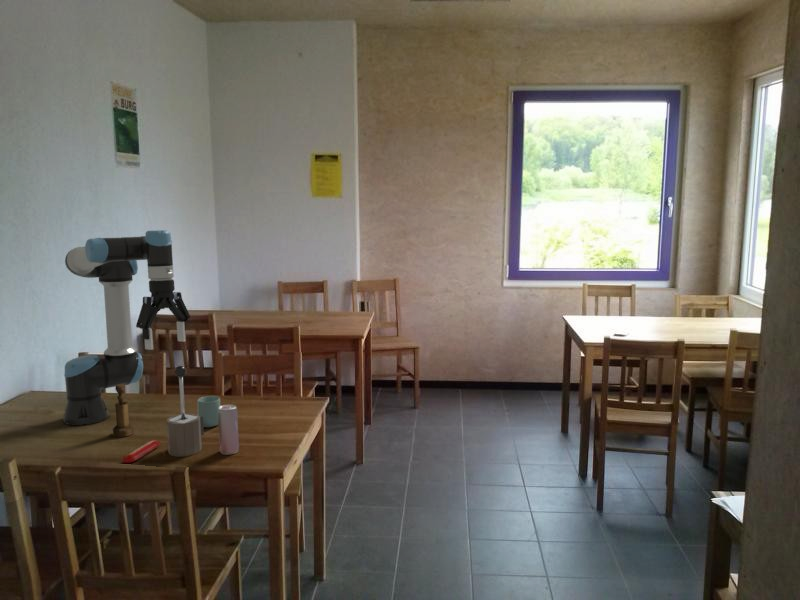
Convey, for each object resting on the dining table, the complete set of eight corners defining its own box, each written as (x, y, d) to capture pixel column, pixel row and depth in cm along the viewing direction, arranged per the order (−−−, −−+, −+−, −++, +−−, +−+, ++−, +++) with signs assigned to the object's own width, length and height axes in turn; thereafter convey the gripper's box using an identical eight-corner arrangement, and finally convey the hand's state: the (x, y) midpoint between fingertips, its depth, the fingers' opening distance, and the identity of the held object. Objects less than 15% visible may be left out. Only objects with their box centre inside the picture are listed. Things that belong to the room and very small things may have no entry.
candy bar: (151, 446, 211) (150, 437, 211) (161, 447, 210) (160, 438, 210) (120, 465, 196) (119, 456, 195) (131, 466, 195) (130, 456, 194)
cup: (214, 430, 225) (213, 402, 224) (194, 428, 227) (193, 401, 225) (224, 422, 233) (223, 396, 231) (205, 421, 234) (204, 395, 233)
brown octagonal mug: (162, 453, 204) (159, 421, 202) (191, 439, 216) (189, 409, 214) (185, 458, 200) (183, 425, 198) (214, 444, 212) (212, 413, 210)
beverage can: (221, 448, 208) (219, 404, 206) (240, 448, 208) (238, 403, 206) (218, 455, 202) (215, 410, 200) (237, 455, 202) (235, 409, 200)
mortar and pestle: (137, 431, 224) (134, 382, 221) (124, 438, 218) (120, 387, 215) (122, 429, 226) (119, 380, 224) (109, 436, 220) (105, 385, 217)
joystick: (167, 425, 203) (164, 367, 201) (183, 419, 210) (179, 362, 207) (184, 428, 201) (180, 369, 198) (199, 422, 207) (195, 364, 204)
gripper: (138, 283, 188) (143, 353, 191) (198, 275, 210) (202, 338, 213) (120, 282, 191) (125, 352, 194) (181, 275, 213) (185, 337, 216)
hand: (166, 345), depth 203 cm, fingers open, 13 cm apart
